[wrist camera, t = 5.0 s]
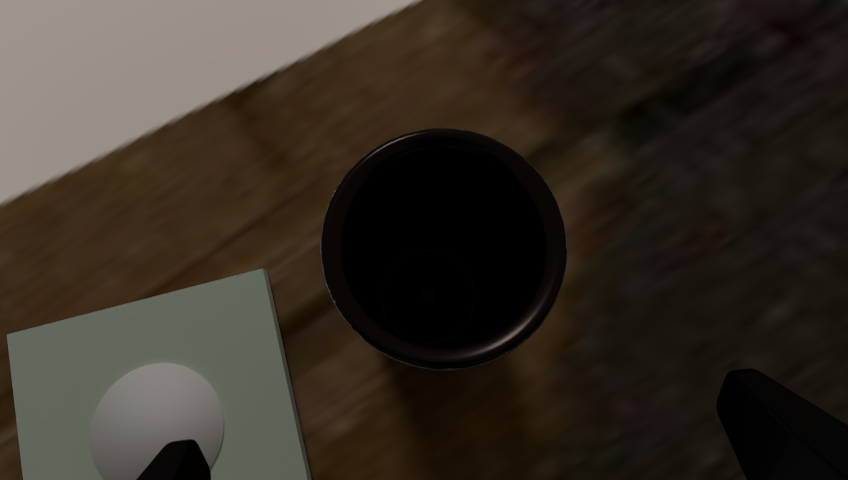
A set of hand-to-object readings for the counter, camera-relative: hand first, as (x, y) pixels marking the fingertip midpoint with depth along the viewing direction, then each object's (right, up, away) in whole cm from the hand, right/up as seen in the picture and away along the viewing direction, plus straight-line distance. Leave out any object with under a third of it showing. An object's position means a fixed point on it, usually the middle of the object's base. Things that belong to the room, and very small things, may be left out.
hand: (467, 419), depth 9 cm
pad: (-10, -3, +10) cm, 14 cm away
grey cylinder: (-1, +1, +11) cm, 11 cm away
